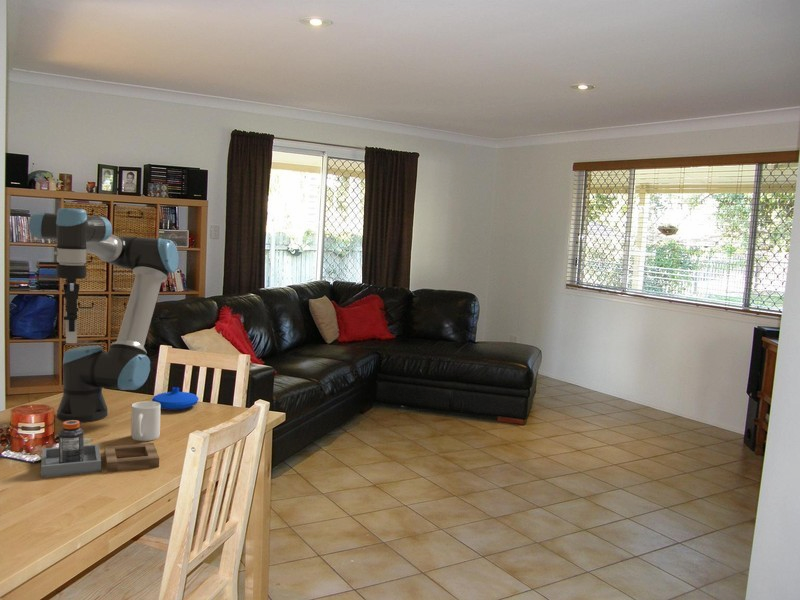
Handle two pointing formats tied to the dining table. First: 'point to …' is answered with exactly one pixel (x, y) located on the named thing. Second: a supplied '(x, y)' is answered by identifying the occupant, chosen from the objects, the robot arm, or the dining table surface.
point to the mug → (145, 421)
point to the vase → (176, 399)
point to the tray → (53, 468)
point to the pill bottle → (71, 442)
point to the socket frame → (134, 462)
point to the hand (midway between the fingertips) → (71, 338)
